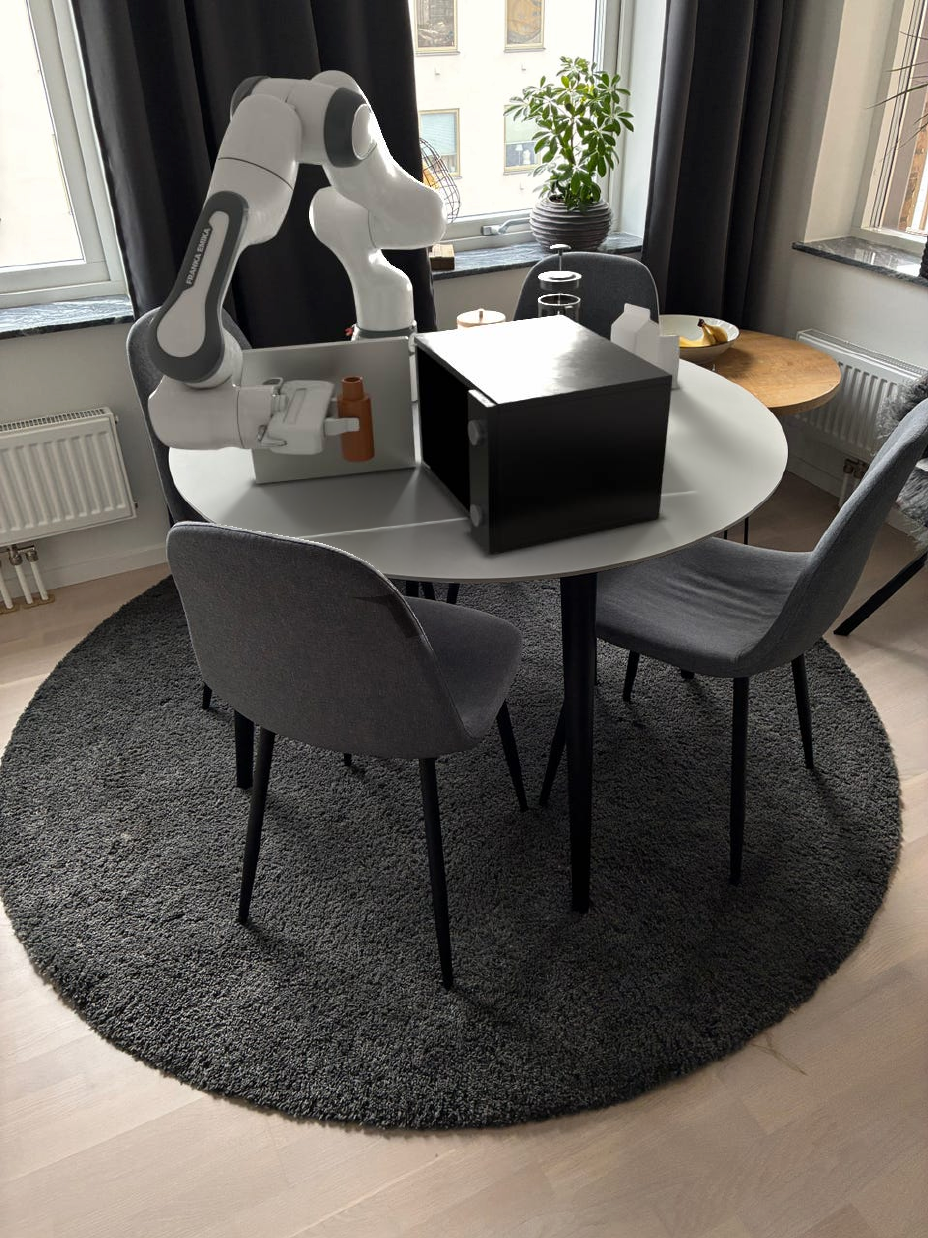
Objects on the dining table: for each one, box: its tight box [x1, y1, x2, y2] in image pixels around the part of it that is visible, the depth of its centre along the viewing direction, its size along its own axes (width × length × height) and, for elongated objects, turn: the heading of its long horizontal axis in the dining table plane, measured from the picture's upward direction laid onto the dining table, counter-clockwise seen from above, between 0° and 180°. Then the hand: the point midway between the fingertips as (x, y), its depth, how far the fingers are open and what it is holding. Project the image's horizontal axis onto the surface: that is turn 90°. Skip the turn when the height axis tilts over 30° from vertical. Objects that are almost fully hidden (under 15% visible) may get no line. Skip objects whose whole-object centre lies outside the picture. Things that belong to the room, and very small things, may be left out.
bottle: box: [337, 376, 375, 462], centre depth 134 cm, size 5×5×12 cm
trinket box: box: [456, 308, 506, 330], centre depth 209 cm, size 11×11×9 cm
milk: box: [610, 302, 662, 366], centre depth 164 cm, size 6×6×22 cm
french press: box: [537, 244, 582, 324], centre depth 201 cm, size 12×9×23 cm
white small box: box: [657, 334, 681, 389], centre depth 187 cm, size 4×7×10 cm, turn 91°
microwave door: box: [241, 336, 417, 485], centre depth 153 cm, size 7×27×22 cm, turn 101°
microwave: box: [414, 314, 673, 555], centre depth 143 cm, size 28×34×22 cm
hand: (361, 415), depth 134 cm, fingers closed on bottle, 5 cm apart
